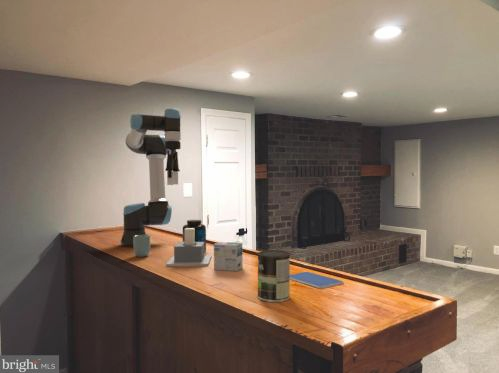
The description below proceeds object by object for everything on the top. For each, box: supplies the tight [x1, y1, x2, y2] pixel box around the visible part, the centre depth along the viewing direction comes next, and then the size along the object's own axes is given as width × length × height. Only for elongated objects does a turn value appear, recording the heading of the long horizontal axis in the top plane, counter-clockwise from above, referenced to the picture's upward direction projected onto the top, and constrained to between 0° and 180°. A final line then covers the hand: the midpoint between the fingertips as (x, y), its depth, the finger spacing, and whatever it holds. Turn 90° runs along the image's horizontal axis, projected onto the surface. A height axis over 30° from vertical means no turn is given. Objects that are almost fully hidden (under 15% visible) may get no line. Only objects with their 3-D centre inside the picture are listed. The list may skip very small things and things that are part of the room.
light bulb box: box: [213, 241, 244, 272], centre depth 161 cm, size 11×7×11 cm, turn 71°
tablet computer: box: [290, 271, 344, 290], centre depth 143 cm, size 19×13×1 cm, turn 36°
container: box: [182, 219, 207, 253], centre depth 199 cm, size 12×12×16 cm
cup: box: [133, 234, 151, 258], centre depth 187 cm, size 8×8×10 cm
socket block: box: [165, 241, 212, 267], centre depth 175 cm, size 18×18×8 cm
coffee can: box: [257, 249, 291, 303], centre depth 122 cm, size 10×10×14 cm
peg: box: [185, 228, 195, 245], centre depth 175 cm, size 4×4×14 cm
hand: (172, 184), depth 188 cm, fingers open, 13 cm apart
